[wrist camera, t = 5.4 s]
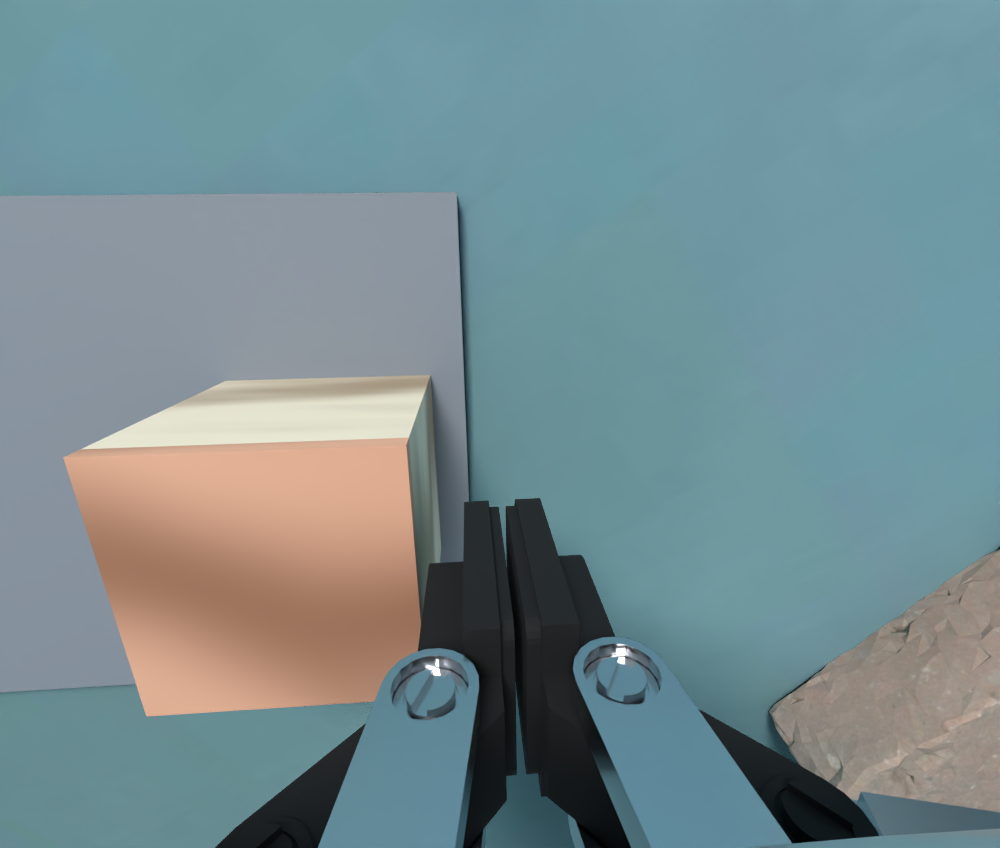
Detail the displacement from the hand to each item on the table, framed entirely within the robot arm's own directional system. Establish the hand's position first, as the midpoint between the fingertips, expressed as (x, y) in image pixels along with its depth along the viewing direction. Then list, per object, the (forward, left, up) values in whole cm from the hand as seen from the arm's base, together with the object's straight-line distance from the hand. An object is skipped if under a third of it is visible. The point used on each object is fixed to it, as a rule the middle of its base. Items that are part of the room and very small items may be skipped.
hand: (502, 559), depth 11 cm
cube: (0, -5, -5) cm, 7 cm away
